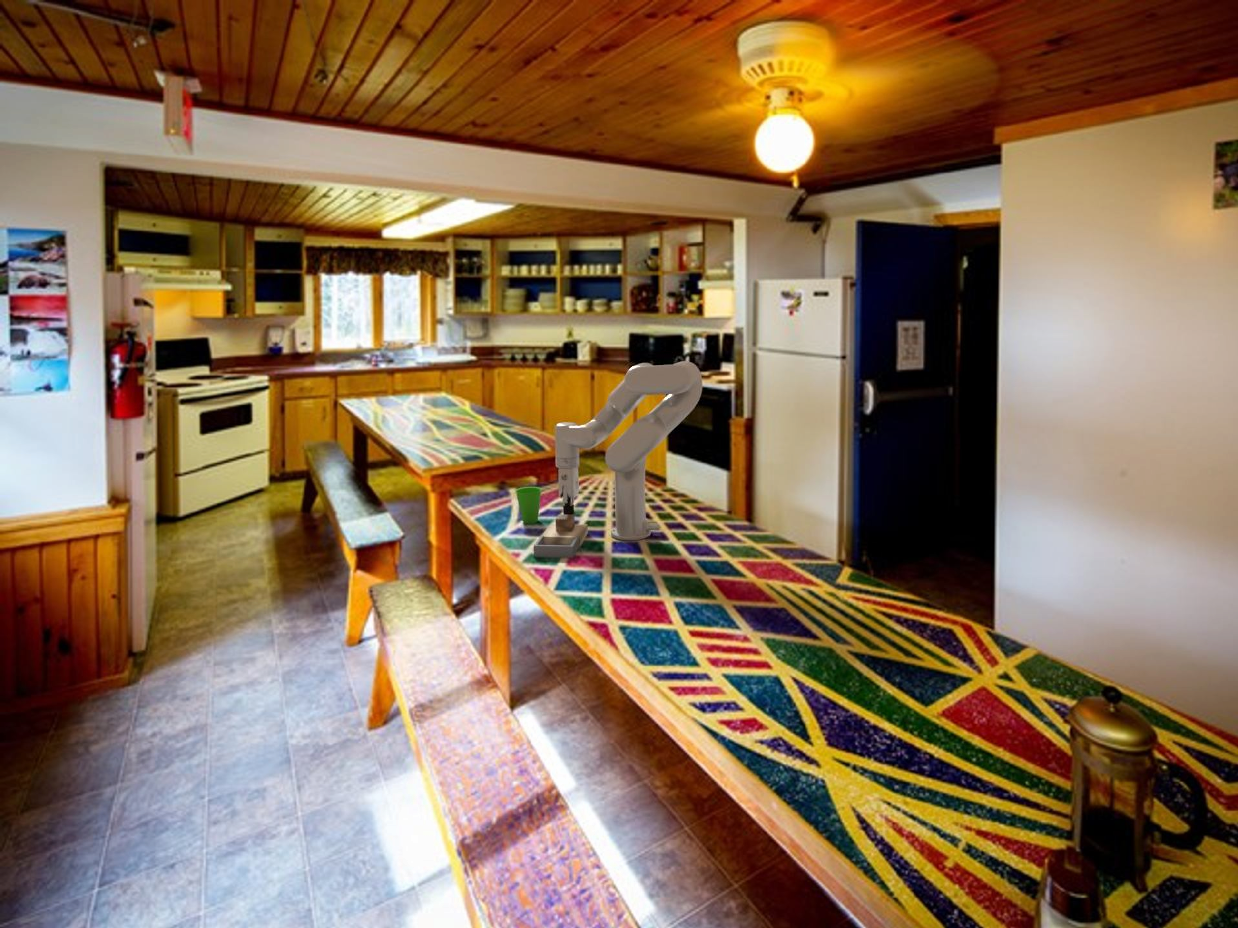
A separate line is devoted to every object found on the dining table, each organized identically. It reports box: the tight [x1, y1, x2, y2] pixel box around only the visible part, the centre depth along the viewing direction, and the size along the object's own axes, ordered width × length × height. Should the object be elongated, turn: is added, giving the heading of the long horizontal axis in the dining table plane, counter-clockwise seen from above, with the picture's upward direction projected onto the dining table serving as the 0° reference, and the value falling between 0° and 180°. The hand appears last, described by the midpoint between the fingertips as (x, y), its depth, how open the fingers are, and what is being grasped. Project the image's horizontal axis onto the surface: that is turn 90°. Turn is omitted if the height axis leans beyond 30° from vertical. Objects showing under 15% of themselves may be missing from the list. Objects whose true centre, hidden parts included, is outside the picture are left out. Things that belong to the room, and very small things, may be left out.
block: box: [554, 514, 576, 532], centre depth 225 cm, size 5×5×4 cm
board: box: [542, 523, 589, 548], centre depth 224 cm, size 12×13×3 cm
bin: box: [533, 534, 580, 559], centre depth 213 cm, size 12×9×4 cm
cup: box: [514, 486, 543, 524], centre depth 243 cm, size 9×9×11 cm
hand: (568, 516), depth 232 cm, fingers closed
